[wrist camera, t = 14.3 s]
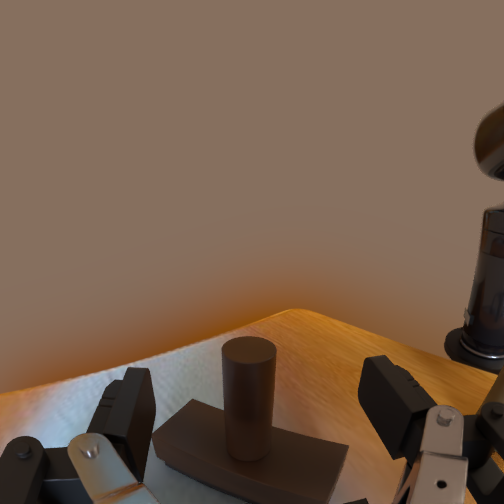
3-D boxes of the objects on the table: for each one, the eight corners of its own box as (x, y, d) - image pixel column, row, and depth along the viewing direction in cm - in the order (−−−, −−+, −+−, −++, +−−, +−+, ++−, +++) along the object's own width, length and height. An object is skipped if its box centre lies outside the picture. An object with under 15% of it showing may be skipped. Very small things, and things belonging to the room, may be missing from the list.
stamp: (196, 429, 23) (184, 309, 21) (339, 475, 18) (372, 348, 16) (158, 465, 19) (130, 338, 17) (317, 527, 14) (356, 405, 11)
